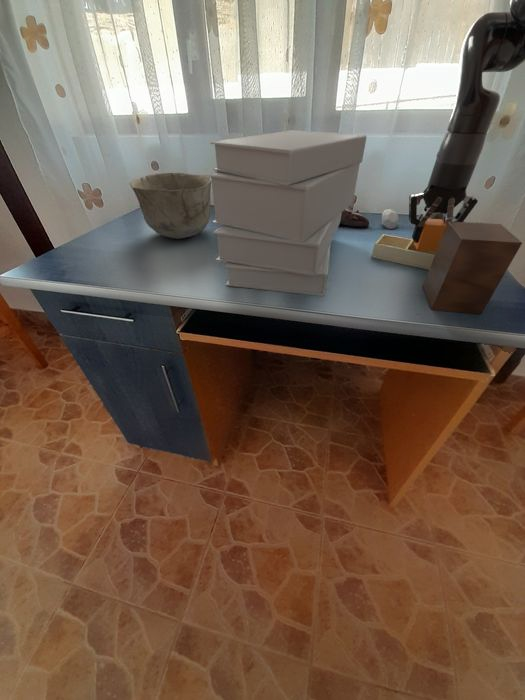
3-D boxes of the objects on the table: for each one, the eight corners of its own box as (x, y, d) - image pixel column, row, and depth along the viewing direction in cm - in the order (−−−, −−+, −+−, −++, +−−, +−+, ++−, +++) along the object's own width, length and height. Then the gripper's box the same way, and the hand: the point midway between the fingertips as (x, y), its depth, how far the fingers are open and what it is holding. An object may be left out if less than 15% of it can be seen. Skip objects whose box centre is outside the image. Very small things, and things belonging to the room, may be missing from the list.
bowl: (167, 220, 100) (157, 169, 90) (228, 226, 96) (223, 173, 86) (128, 245, 85) (110, 186, 75) (198, 253, 80) (189, 192, 70)
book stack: (345, 238, 87) (364, 129, 70) (345, 301, 61) (375, 152, 44) (245, 231, 91) (241, 128, 74) (206, 287, 66) (185, 149, 49)
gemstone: (386, 211, 96) (396, 204, 91) (392, 229, 97) (404, 223, 92) (371, 217, 95) (381, 210, 90) (378, 236, 95) (388, 230, 90)
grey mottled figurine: (421, 218, 99) (429, 194, 94) (440, 220, 97) (450, 196, 92) (421, 231, 90) (430, 205, 86) (442, 233, 89) (453, 206, 84)
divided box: (468, 278, 68) (475, 263, 65) (371, 257, 77) (374, 243, 74) (471, 265, 73) (478, 251, 70) (379, 247, 82) (383, 233, 79)
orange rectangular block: (432, 244, 74) (442, 219, 70) (436, 251, 70) (447, 225, 66) (413, 243, 74) (421, 218, 70) (416, 250, 71) (425, 224, 67)
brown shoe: (324, 229, 100) (346, 206, 99) (351, 245, 94) (375, 221, 94) (321, 215, 94) (344, 191, 94) (349, 232, 88) (375, 206, 88)
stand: (466, 291, 63) (500, 224, 54) (481, 314, 57) (522, 242, 48) (422, 287, 65) (447, 221, 56) (431, 310, 58) (462, 239, 49)
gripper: (423, 161, 59) (397, 246, 70) (502, 163, 56) (463, 250, 68) (416, 155, 64) (393, 235, 75) (488, 156, 62) (454, 238, 73)
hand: (426, 242), depth 71 cm, fingers closed on orange rectangular block, 4 cm apart
